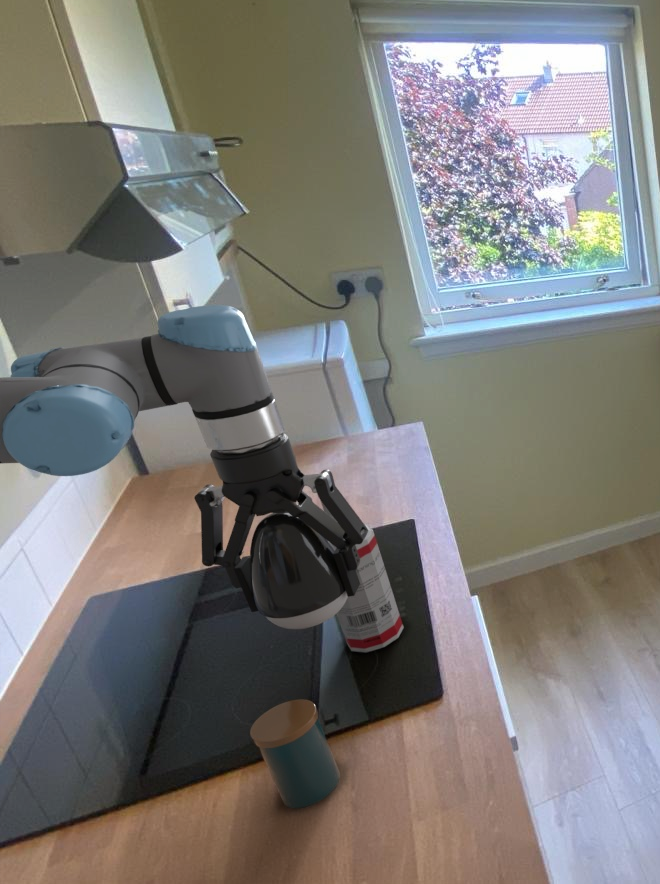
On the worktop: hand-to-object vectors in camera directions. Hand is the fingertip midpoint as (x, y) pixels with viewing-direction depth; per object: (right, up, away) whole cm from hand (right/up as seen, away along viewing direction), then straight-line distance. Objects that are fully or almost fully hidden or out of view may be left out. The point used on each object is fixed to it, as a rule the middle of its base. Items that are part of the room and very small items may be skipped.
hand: (307, 597), depth 94 cm
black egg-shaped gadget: (0, -3, +1) cm, 3 cm away
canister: (+4, -22, -5) cm, 23 cm away
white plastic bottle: (-3, -11, +20) cm, 23 cm away
